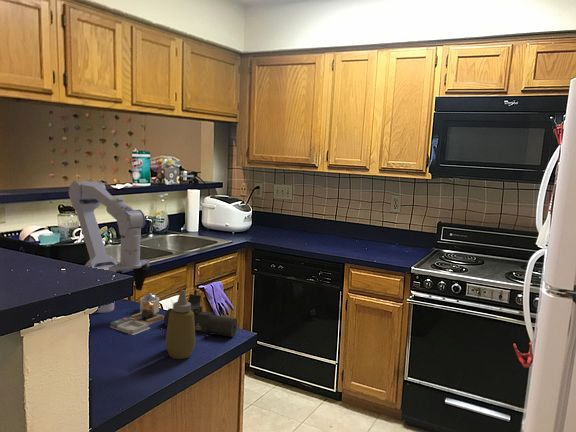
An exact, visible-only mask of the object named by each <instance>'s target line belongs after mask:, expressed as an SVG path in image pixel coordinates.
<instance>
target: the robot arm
mask: <svg viewBox="0 0 576 432" xmlns="http://www.w3.org/2000/svg"><path fill="white" fill-rule="evenodd" d="M68 196H69V199H70V203H71V206H72V209H74V210H75V213H76V216H77V219H78V222H79V226H80V229H81V233H82V235H83V239H84V243H85V246H86V248H87V250H86V251H87V253H88V257H89V260H88V261H87V262H86V263H85V265H84V266H88V267H92V268H97V269H104V270H110V271H114V272H116V273H120V274H124V272H126V271H131V270H132V271H133V275H134V288H135V290H136V291H142V289H143V287H144V286H143V285H144V283H145V280H146V277H148V274H149V273H150V260H149V259H146V258H145V259H141V241H142V240H141V235H142V234H141V232H142V229H143V228H144V227H145V225H146V216H145V213H144V212H143V211H142V209H133V207H132V206H130V205H129V204H127V203H126V202H125V201H124V199H123V198H121V197H120V198H117V197H116V198H114V196H112V194H111V193H109V191H108V190H107V189H106V184H104V183H103V182H102V181H100V180H97V181H96V180H94V181H93V180H91V181H86V180H85V181H77V180H74V181H73V180H72V182H71V183H70V185H69V188H68ZM101 204H102V205H103V206H105V208H106V210H105V211H106V212H107V214H109V215H110V216H111V217H112V218H113V219H115V220H116V223H117V226H118V227H117V228H118V233H119V235H120V252H119V253H120V258H119V263H117V261H116V259H115V258H114V257H112V256H110V255H108V254H107V251H106V248H105V245H104V241H103V238H102V235H101V231H100V228H99V224H98V221H97V219H96V218H97V217H96V215H95V210H96V209H97V208H99V206H100V205H101ZM124 275H126V274H124ZM114 310H115V302H114V303H111V304H108V305H104V306H101V307H100V308H98V311H97V312H96V313H101V314H102V313H110V312H112V311H114Z"/></svg>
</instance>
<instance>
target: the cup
mask: <svg viewBox="0 0 576 432" xmlns="http://www.w3.org/2000/svg"><path fill="white" fill-rule="evenodd" d="M139 301H140V302H139V303H140V305H139V313H140V312H142V303H143V302H146V301H145V300H144V296H143V297H140V300H139ZM151 302H154V313H156V314H157V313H159V312H160V297H158V296H156V299H155V300H154V301H151Z"/></svg>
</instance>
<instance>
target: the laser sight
mask: <svg viewBox="0 0 576 432" xmlns="http://www.w3.org/2000/svg"><path fill="white" fill-rule="evenodd" d="M201 301H202V295H201V294H200V295H199V294H195V293H194V294H193V293H189V296H188V300H187V302H189V303H191V311H193V312H194V321H195V332H198V333H199V332H200V333H207V334H206V335H208V336H209V335H211V334H212V335H218V336H222V337H223V336H225V337H230V338H231V337H232V338H234V337H235V335H236V333H237V329H238V319H237V318H235V317H228V316H222V315H217V314H214V313H213V312H210V311H203V306H202V305H201ZM172 310H173V307H171V308H168V309H167V310H166V312H165V314H164V315H163V316H164V319H163V323H164V326H165V327H167V326H168V319H169V313H170V312H171V311H172Z"/></svg>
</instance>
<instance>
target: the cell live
mask: <svg viewBox="0 0 576 432" xmlns="http://www.w3.org/2000/svg"><path fill="white" fill-rule="evenodd" d="M153 317H154V302H151V301H146V302H143V303H142V318H141V320H142V321H145V322H146V320H147V319H150V318H153Z"/></svg>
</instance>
